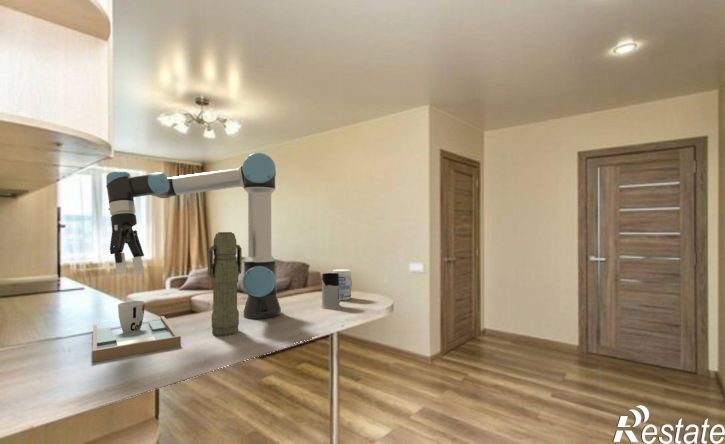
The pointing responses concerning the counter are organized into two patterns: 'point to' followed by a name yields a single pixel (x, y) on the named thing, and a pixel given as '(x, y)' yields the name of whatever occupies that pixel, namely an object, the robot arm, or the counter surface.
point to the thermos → (225, 283)
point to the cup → (131, 315)
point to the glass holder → (331, 290)
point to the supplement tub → (344, 283)
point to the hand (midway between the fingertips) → (130, 273)
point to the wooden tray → (133, 341)
